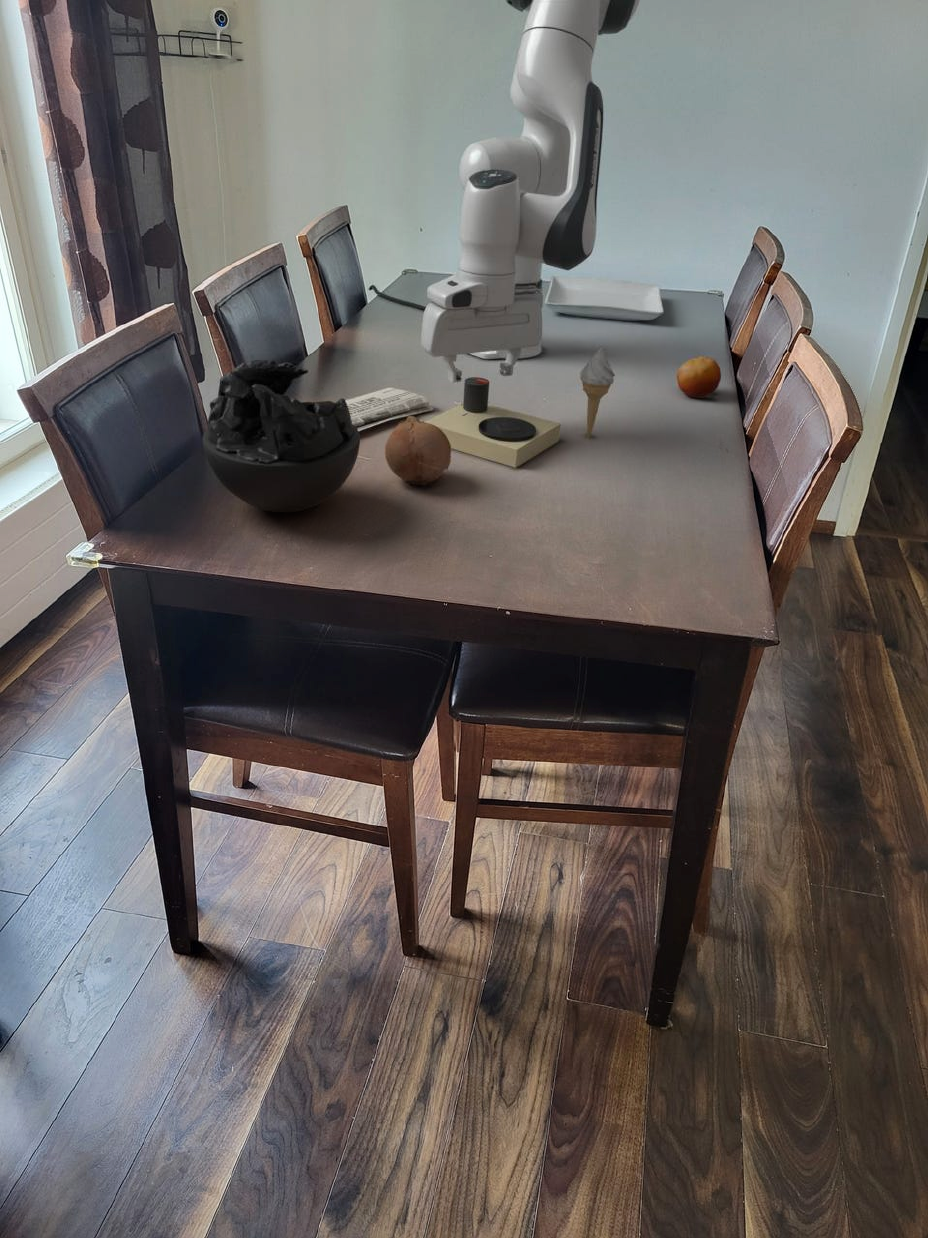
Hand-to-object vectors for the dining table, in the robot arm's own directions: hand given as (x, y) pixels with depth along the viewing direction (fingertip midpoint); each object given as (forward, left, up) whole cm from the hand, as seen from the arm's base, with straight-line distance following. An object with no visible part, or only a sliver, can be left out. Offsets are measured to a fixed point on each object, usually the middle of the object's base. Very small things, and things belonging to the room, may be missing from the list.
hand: (480, 378), depth 149 cm
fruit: (+22, +42, -9) cm, 48 cm away
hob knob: (-1, 0, -5) cm, 5 cm away
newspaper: (-17, -8, -9) cm, 21 cm away
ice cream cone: (+16, +9, -9) cm, 20 cm away
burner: (+8, -5, -5) cm, 11 cm away
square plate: (-19, +88, -8) cm, 90 cm away
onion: (+4, -23, -9) cm, 25 cm away
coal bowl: (-5, -41, -9) cm, 43 cm away
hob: (+5, -3, -8) cm, 10 cm away
